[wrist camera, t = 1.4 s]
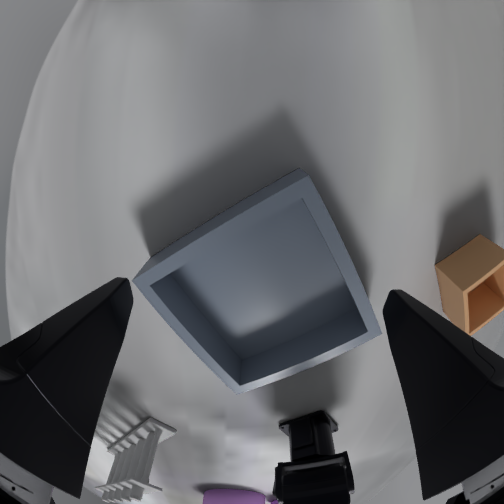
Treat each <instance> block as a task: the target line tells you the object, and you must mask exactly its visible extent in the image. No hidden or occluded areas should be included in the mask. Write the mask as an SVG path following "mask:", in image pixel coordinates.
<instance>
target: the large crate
mask: <svg viewBox="0 0 504 504" xmlns="http://www.w3.org/2000/svg"><path fill="white" fill-rule="evenodd" d="M132 281H133V283H134V284H135V285H136V286H137V288H138V289H139V290H140V291H141V293H142V294H143V295H144V296H145V298H146V299H147V300H148V301H149V302H150V304H151V305H152V306H153V307H154V308H155V310H156V311H157V312H158V313H159V314H160V315H161V317H162V318H163V319H164V320H165V321H166V322H167V324H168V325H169V326H170V327H171V328H172V329H173V330H174V331H175V333H176V334H177V335H178V336H179V337H180V338H181V339H182V340H183V341H184V342H185V343H186V345H187V346H188V347H189V348H190V349H191V350H192V351H193V352H194V353H195V354H196V355H197V356H198V357H199V358H200V359H201V360H202V361H203V362H204V363H205V364H206V365H207V366H208V367H209V368H210V369H211V370H212V371H213V372H214V373H215V374H216V375H217V376H218V377H219V378H220V379H221V380H222V381H223V382H224V383H225V384H226V385H227V386H228V387H229V388H230V389H231V390H232V391H233V392H234V393H235V394H240V393H243V392H246V391H249V390H252V389H255V388H258V387H261V386H264V385H267V384H270V383H272V382H275V381H278V380H281V379H283V378H286V377H289V376H291V375H294V374H296V373H299V372H301V371H304V370H306V369H309V368H311V367H313V366H316V365H318V364H320V363H323V362H325V361H327V360H329V359H332V358H334V357H336V356H338V355H340V354H343V353H345V352H347V351H349V350H351V349H353V348H355V347H357V346H359V345H361V344H363V343H365V342H367V341H369V340H371V339H373V338H375V337H377V336H379V335H381V334H382V332H381V329H380V327H379V324H378V322H377V319H376V316H375V314H374V311H373V309H372V306H371V304H370V302H369V299H368V297H367V294H366V292H365V290H364V287H363V285H362V282H361V280H360V278H359V276H358V273H357V271H356V269H355V267H354V264H353V262H352V260H351V258H350V256H349V253H348V251H347V249H346V247H345V245H344V243H343V241H342V239H341V236H340V234H339V232H338V230H337V228H336V226H335V224H334V222H333V220H332V218H331V216H330V214H329V212H328V210H327V208H326V206H325V204H324V202H323V201H322V199H321V197H320V195H319V193H318V191H317V189H316V187H315V185H314V184H313V182H312V180H311V178H310V176H309V175H308V174H307V173H305V172H304V171H303V170H302V169H300V168H299V169H297V170H295V171H293V172H291V173H289V174H288V175H286V176H284V177H282V178H281V179H279V180H277V181H275V182H273V183H272V184H270V185H268V186H266V187H265V188H263V189H261V190H259V191H258V192H256V193H254V194H253V195H251V196H249V197H247V198H246V199H244V200H242V201H241V202H239V203H237V204H235V205H234V206H232V207H230V208H229V209H227V210H225V211H224V212H222V213H220V214H219V215H217V216H216V217H214V218H212V219H211V220H209V221H207V222H206V223H204V224H202V225H201V226H199V227H198V228H196V229H194V230H193V231H191V232H190V233H188V234H186V235H185V236H183V237H182V238H180V239H179V240H177V241H175V242H174V243H172V244H171V245H169V246H168V247H166V248H165V249H163V250H161V251H160V252H158V253H157V254H155V255H154V256H152V257H151V258H150V259H149V260H148V261H147V262H146V264H145V265H144V266H143V267H142V269H141V270H140V271H139V272H138V274H137V275H136V276H135V277H134V279H133V280H132Z"/></svg>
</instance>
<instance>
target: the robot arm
mask: <svg viewBox="0 0 504 504" xmlns="http://www.w3.org/2000/svg"><path fill="white" fill-rule="evenodd" d="M132 306H133V295H132V290H131V286H130V282H129V280H128V279H127V278H121V277H117V278H115V279H113V280H111V281H110V282H108V283H106V284H104V285H103V286H101V287H99V288H98V289H96V290H94V291H92V292H91V293H89V294H87V295H86V296H84V297H82V298H81V299H79V300H77V301H76V302H74V303H72V304H71V305H69V306H67V307H66V308H64V309H63V310H61V311H59V312H58V313H56V314H54V315H53V316H51V317H50V318H48V319H47V320H45V321H43V322H42V323H40V324H39V325H37V326H35V327H34V328H32V329H31V330H29V331H27V332H26V333H24V334H23V335H21V336H19V337H17V338H16V339H14V340H12V341H10V342H9V343H7V344H5V345H3V346H1V347H0V504H55V502H54V500H53V498H52V492H53V488H54V487H55V488H57V489H59V490H61V491H63V492H65V493H67V494H70V495H71V496H74V497H76V498H78V499H80V496H81V491H82V486H83V481H84V476H85V471H86V466H87V462H88V457H89V453H90V449H91V444H92V440H93V436H94V432H95V429H96V425H97V421H98V418H99V414H100V411H101V407H102V404H103V400H104V397H105V394H106V391H107V388H108V384H109V381H110V378H111V375H112V372H113V369H114V366H115V363H116V361H117V358H118V355H119V352H120V349H121V346H122V343H123V341H124V337H125V333H126V329H127V325H128V321H129V317H130V313H131V310H132ZM383 317H384V321H385V326H386V330H387V335H388V340H389V344H390V349H391V352H392V356H393V359H394V362H395V366H396V369H397V373H398V376H399V380H400V383H401V387H402V391H403V395H404V399H405V403H406V407H407V411H408V415H409V420H410V424H411V429H412V433H413V438H414V443H415V449H416V455H417V461H418V466H419V473H420V480H421V487H422V496H423V500H426V499H429V498H431V497H433V496H435V495H438V494H440V493H442V492H444V491H446V490H448V489H450V488H452V487H454V486H456V485H458V484H460V483H462V487H463V492H461V493H459V494H457V495H455V496H453V497H452V498H450V499H448V500H447V502H446V504H504V358H502V357H501V356H499V355H497V354H496V353H495V352H493V351H491V350H490V349H488V348H487V347H486V346H484V345H483V344H481V343H480V342H478V341H477V340H476V339H474V338H473V337H471V336H470V335H468V334H467V333H466V332H464V331H463V330H461V329H460V328H458V327H457V326H455V325H454V324H453V323H451V322H450V321H448V320H447V319H445V318H444V317H442V316H441V315H439V314H438V313H436V312H435V311H433V310H432V309H430V308H429V307H427V306H426V305H424V304H423V303H421V302H420V301H418V300H417V299H415V298H414V297H412V296H410V295H409V294H407V293H406V292H404V291H403V290H391V291H390V292H389V294H388V297H387V300H386V302H385V305H384V307H383ZM279 429H280V430H282V431H283V432H284V433H285V434H286V435H288V436H289V441H290V457H291V462H285V463H283V462H280V463H278V467H276V468H275V482H274V487H273V495H274V496H275V497H276V498H277V500H278V503H279V504H350V494H353V493H354V480H353V474H352V470H351V466H350V462H349V458H348V454H347V451H345V452H343V453H339V454H335V449H334V443H333V438H332V433H333V432H336V431H338V427H337V425H336V424H335V423H334V422H333V421H332V420H331V418H330V417H329V416H328V415H327V414H326V413H325V411H319V412H316V413H313V414H310V415H307V416H304V417H301V418H298V419H295V420H292V421H289V422H286V423H282V424H280V425H279Z"/></svg>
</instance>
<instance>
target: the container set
mask: <svg viewBox="0 0 504 504" xmlns="http://www.w3.org/2000/svg"><path fill="white" fill-rule="evenodd" d="M203 504H265V496H264V495H263V494H261V493H257V492H253V491H247V490H238V489H211V490H207V491H205V492H204V497H203ZM271 504H279V503H278V500H275V501H273V502H272V503H271Z"/></svg>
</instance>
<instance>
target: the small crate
mask: <svg viewBox="0 0 504 504" xmlns="http://www.w3.org/2000/svg"><path fill="white" fill-rule="evenodd" d="M435 269H436V273H437V278H438V283H439V289H440V294H441V300H442V307H443V312H444V313H445V314H446V315H447V317H448V318H449V319H450V320H451V322H452V323H453V324H454V325H455V326H457V327H458V328H460V329H461V330H463V331H464V332H466V333H467V334H468V335H470V336H471V335H472V334H474V333H475V332H477V331H478V330H479V329H480V328H482V327H483V326H484V325H486V324H487V323H488V322H489V321H491V320H492V319H493V318H494V317H496V316H497V315H498V314H499V313H500V312H502V311H503V310H504V249H503V248H501V247H500V246H498V245H497V244H495V243H493V242H492V241H490V240H489V239H487V238H486V237H484V236H482V235H481V234H479V235H478V236H476V237H475V238H474V239H472V240H471V241H470V242H468V243H467V244H465V245H464V246H463V247H461V248H460V249H458V250H457V251H455V252H454V253H452V254H451V255H449V256H448V257H446V258H445V259H443V260H442V261H440V262H439V263H437V264H436V265H435Z"/></svg>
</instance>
